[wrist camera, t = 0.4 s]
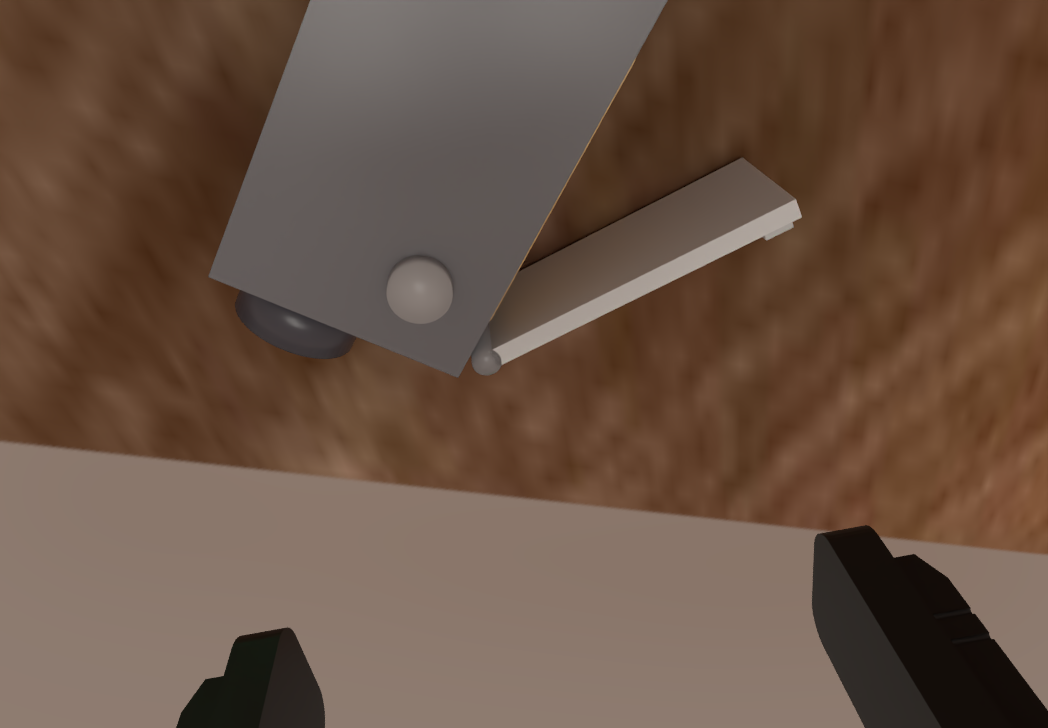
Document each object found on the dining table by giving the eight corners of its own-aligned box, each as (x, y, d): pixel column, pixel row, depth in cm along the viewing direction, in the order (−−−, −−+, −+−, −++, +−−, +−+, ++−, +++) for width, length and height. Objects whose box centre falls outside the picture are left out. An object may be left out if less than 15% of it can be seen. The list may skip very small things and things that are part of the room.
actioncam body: (419, -236, 27) (411, -285, 20) (665, -75, 30) (725, -74, 24) (228, 268, 35) (180, 344, 29) (437, 354, 38) (436, 440, 32)
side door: (743, 152, 34) (796, 193, 29) (759, 197, 35) (813, 244, 30) (463, 295, 36) (466, 357, 31) (486, 333, 37) (493, 399, 32)
